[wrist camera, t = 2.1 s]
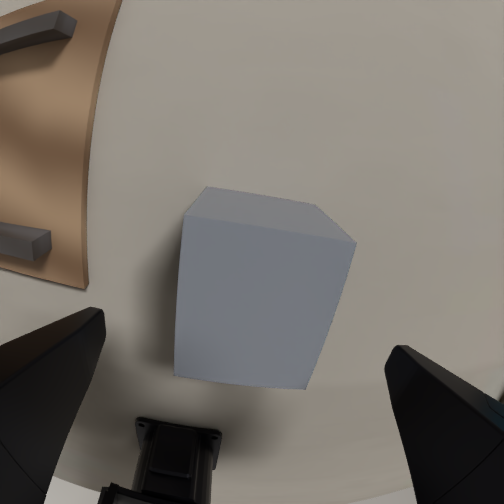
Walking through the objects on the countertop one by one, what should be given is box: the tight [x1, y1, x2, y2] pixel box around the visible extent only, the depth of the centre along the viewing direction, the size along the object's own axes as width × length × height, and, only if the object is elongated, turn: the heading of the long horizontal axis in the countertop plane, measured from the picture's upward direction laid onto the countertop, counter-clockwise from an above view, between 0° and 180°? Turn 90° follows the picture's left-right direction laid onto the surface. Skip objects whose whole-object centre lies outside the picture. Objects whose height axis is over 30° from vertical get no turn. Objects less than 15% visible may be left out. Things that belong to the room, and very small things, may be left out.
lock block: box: [174, 187, 357, 390], centre depth 12 cm, size 6×5×6 cm
